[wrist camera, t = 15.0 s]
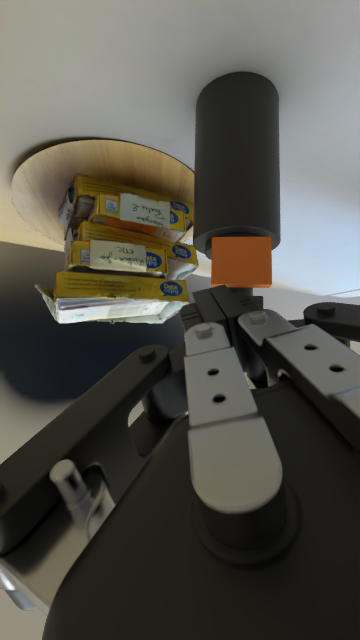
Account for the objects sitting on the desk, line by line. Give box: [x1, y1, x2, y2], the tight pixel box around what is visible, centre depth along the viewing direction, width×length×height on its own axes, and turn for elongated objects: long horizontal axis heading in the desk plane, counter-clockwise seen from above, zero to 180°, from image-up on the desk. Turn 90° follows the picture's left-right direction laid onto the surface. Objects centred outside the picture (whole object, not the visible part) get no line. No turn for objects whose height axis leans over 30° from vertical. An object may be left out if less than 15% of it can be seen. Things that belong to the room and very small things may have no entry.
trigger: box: [211, 237, 272, 288], centre depth 21 cm, size 1×4×3 cm, turn 95°
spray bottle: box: [193, 73, 280, 309], centre depth 25 cm, size 9×7×20 cm
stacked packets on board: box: [10, 140, 199, 324], centre depth 43 cm, size 25×25×17 cm
